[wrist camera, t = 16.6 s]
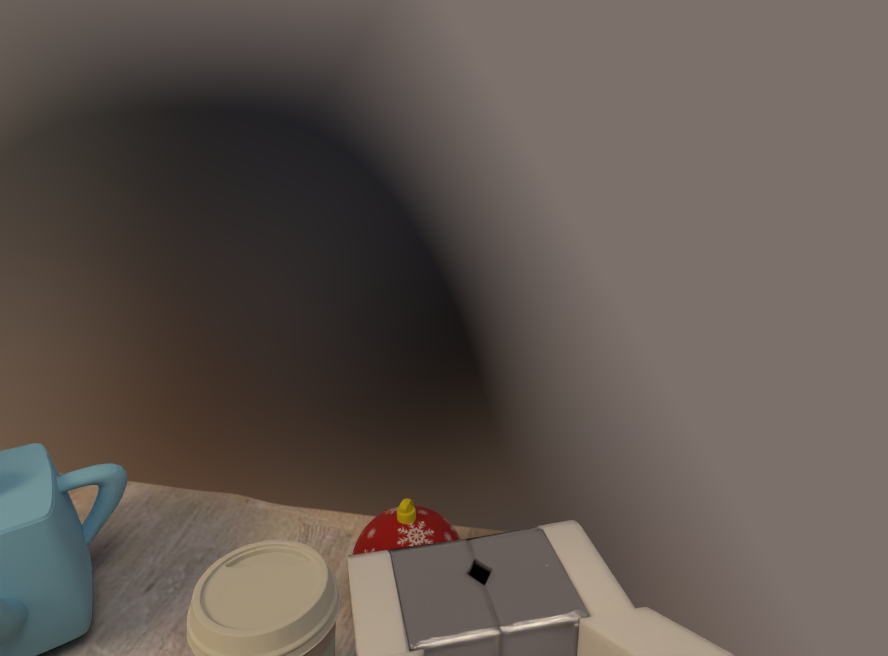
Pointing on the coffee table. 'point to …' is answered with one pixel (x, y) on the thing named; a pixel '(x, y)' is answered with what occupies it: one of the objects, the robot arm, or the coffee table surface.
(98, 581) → the coffee table surface
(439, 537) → the christmas ornament
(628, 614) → the robot arm
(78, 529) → the teapot
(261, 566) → the coffee cup
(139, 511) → the coffee table surface
